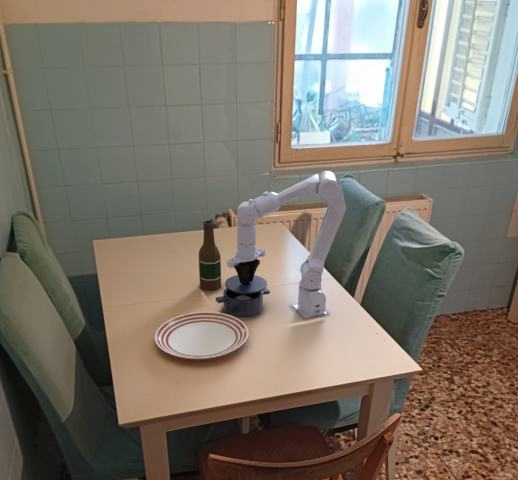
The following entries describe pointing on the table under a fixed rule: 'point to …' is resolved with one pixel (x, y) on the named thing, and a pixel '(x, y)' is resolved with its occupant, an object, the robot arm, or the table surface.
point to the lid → (249, 287)
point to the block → (243, 297)
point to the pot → (242, 303)
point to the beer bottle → (209, 260)
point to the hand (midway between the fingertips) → (246, 282)
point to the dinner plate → (201, 335)
